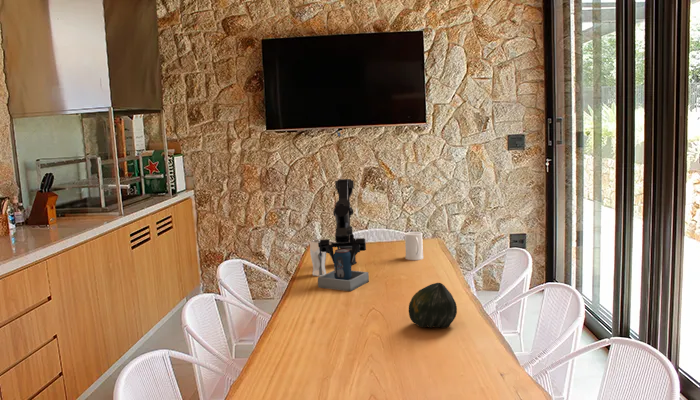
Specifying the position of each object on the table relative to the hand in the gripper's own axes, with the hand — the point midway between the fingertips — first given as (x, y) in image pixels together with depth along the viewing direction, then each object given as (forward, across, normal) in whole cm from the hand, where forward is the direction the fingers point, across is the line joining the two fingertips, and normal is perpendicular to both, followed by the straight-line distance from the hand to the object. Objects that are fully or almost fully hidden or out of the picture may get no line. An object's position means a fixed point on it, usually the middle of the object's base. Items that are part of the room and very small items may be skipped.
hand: (342, 262), depth 247 cm
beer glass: (-6, -12, +20) cm, 24 cm away
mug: (-23, +31, +37) cm, 54 cm away
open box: (+6, 0, +7) cm, 9 cm away
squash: (+42, +32, -29) cm, 60 cm away
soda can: (+4, 0, +6) cm, 7 cm away
